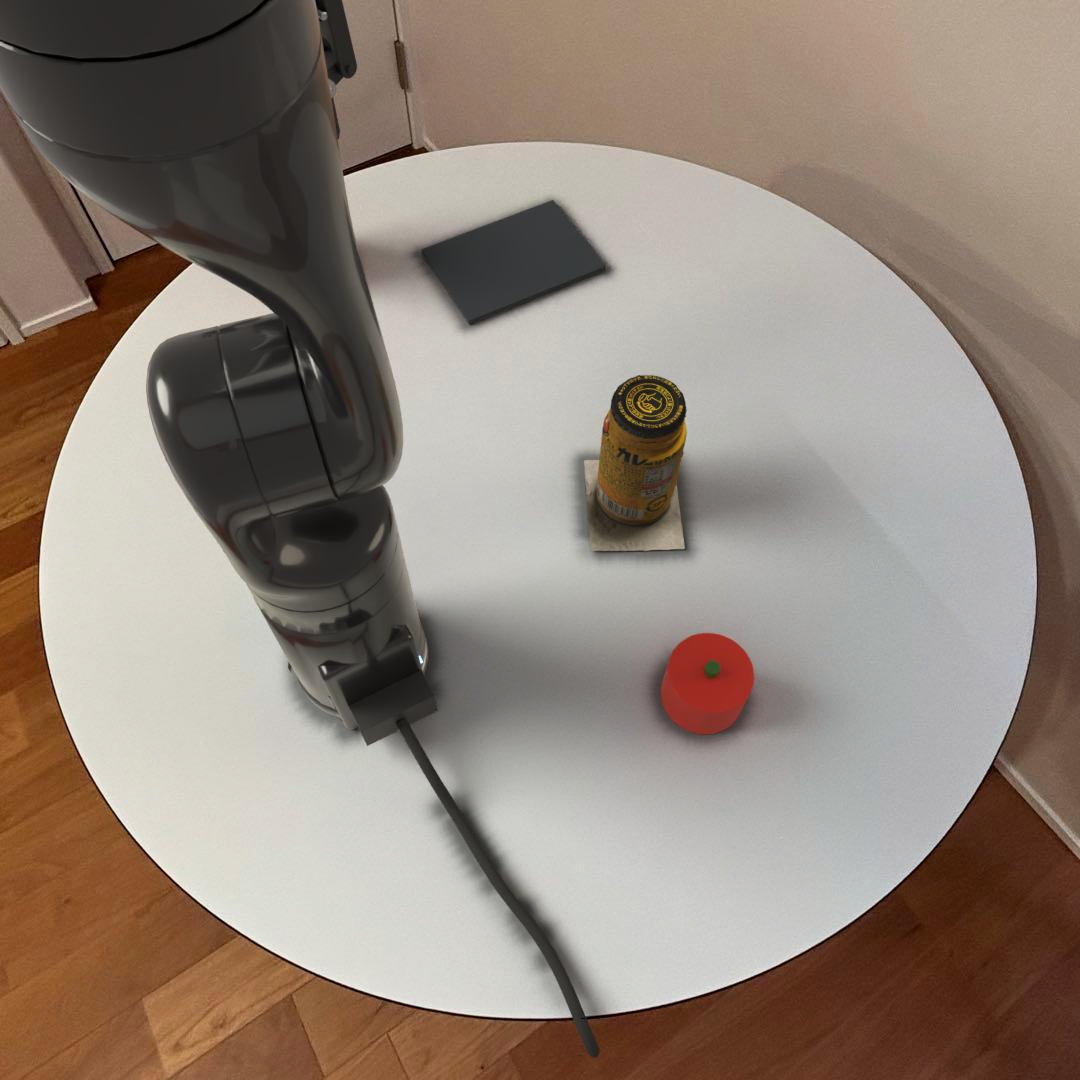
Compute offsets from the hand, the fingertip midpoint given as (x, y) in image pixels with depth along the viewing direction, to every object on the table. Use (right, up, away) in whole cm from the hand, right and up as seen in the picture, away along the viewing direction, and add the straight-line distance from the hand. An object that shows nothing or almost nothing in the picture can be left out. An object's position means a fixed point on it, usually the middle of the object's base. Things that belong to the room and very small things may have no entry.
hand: (271, 178), depth 63 cm
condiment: (+24, -20, +15) cm, 35 cm away
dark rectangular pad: (+15, +3, +28) cm, 32 cm away
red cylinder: (+29, -34, +7) cm, 45 cm away
